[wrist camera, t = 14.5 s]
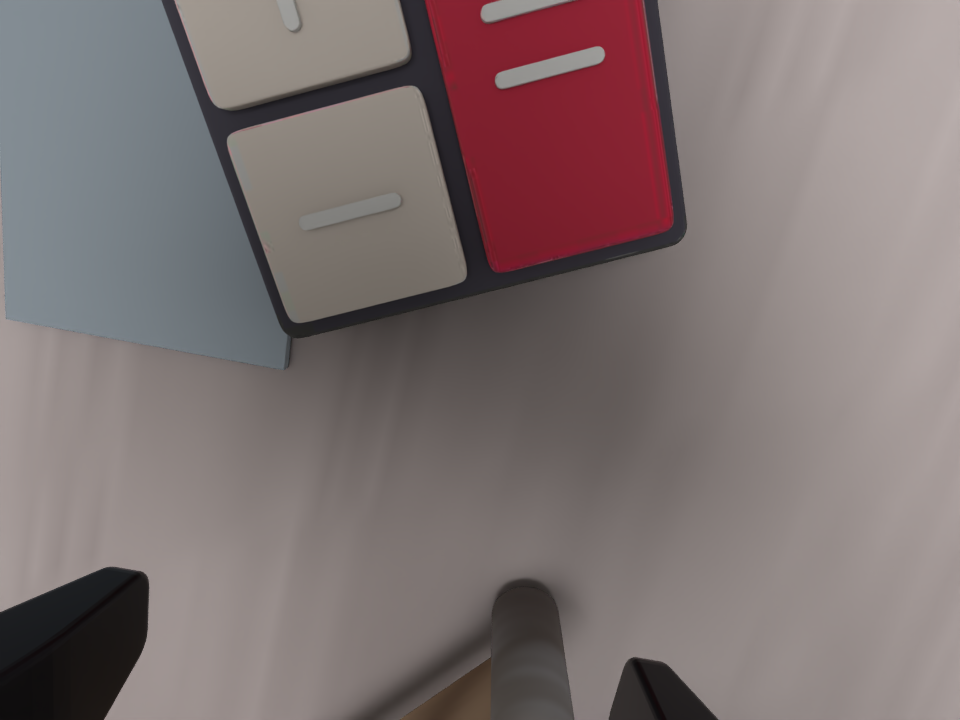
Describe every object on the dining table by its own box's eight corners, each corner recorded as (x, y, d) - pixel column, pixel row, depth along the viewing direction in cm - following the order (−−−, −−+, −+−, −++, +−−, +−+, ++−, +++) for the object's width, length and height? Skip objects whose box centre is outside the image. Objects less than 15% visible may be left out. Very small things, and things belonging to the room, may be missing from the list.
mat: (333, -86, 16) (329, -93, 16) (287, 366, 19) (283, 370, 19) (1, -153, 16) (-11, -161, 15) (15, 316, 19) (5, 318, 19)
